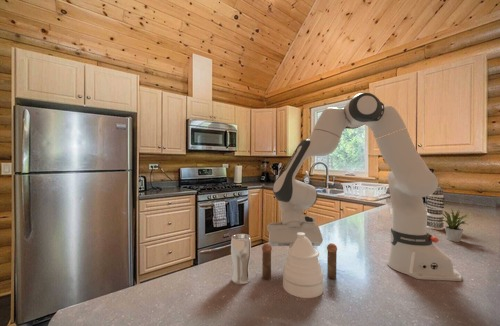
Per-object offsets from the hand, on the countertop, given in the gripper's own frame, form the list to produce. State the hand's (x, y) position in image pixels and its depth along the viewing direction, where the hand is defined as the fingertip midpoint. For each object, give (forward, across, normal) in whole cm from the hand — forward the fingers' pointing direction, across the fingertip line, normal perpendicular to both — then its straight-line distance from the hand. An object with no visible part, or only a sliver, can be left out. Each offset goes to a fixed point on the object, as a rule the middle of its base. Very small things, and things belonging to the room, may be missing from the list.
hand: (297, 256), depth 85 cm
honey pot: (+10, 0, -1) cm, 11 cm away
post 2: (+6, +12, +3) cm, 13 cm away
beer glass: (+7, -20, +2) cm, 22 cm away
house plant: (-19, +89, +28) cm, 95 cm away
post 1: (+6, -12, +3) cm, 13 cm away
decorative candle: (-36, +97, +45) cm, 113 cm away
